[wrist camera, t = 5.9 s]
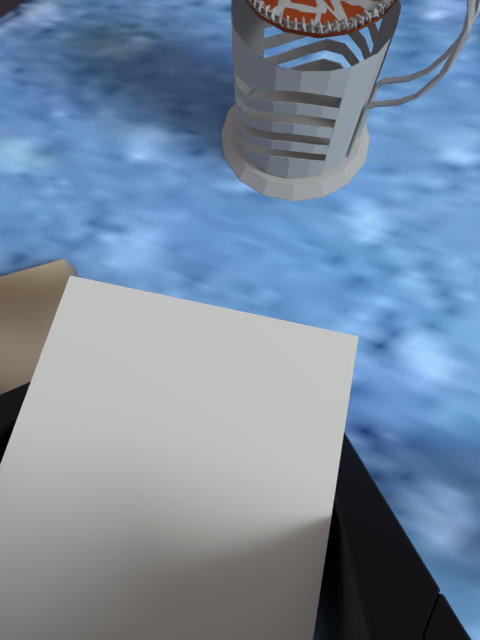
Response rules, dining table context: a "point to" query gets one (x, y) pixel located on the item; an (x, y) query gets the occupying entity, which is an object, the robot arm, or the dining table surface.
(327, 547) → the robot arm
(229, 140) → the french press
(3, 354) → the board
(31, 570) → the block
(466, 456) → the dining table surface
